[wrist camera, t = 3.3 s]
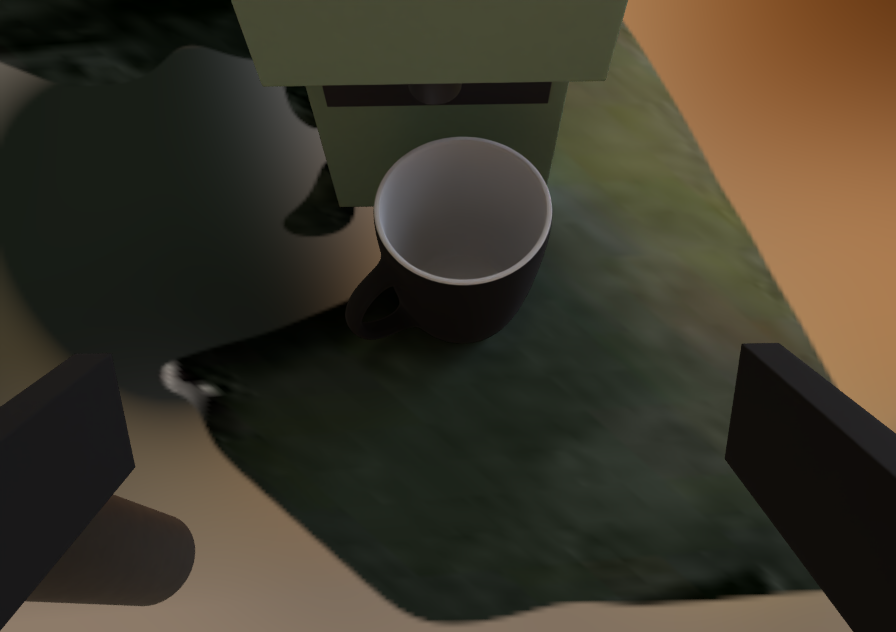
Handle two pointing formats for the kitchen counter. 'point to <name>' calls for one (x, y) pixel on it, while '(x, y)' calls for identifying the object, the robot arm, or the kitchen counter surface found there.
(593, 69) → the coffee machine
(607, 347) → the kitchen counter surface
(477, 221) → the mug
